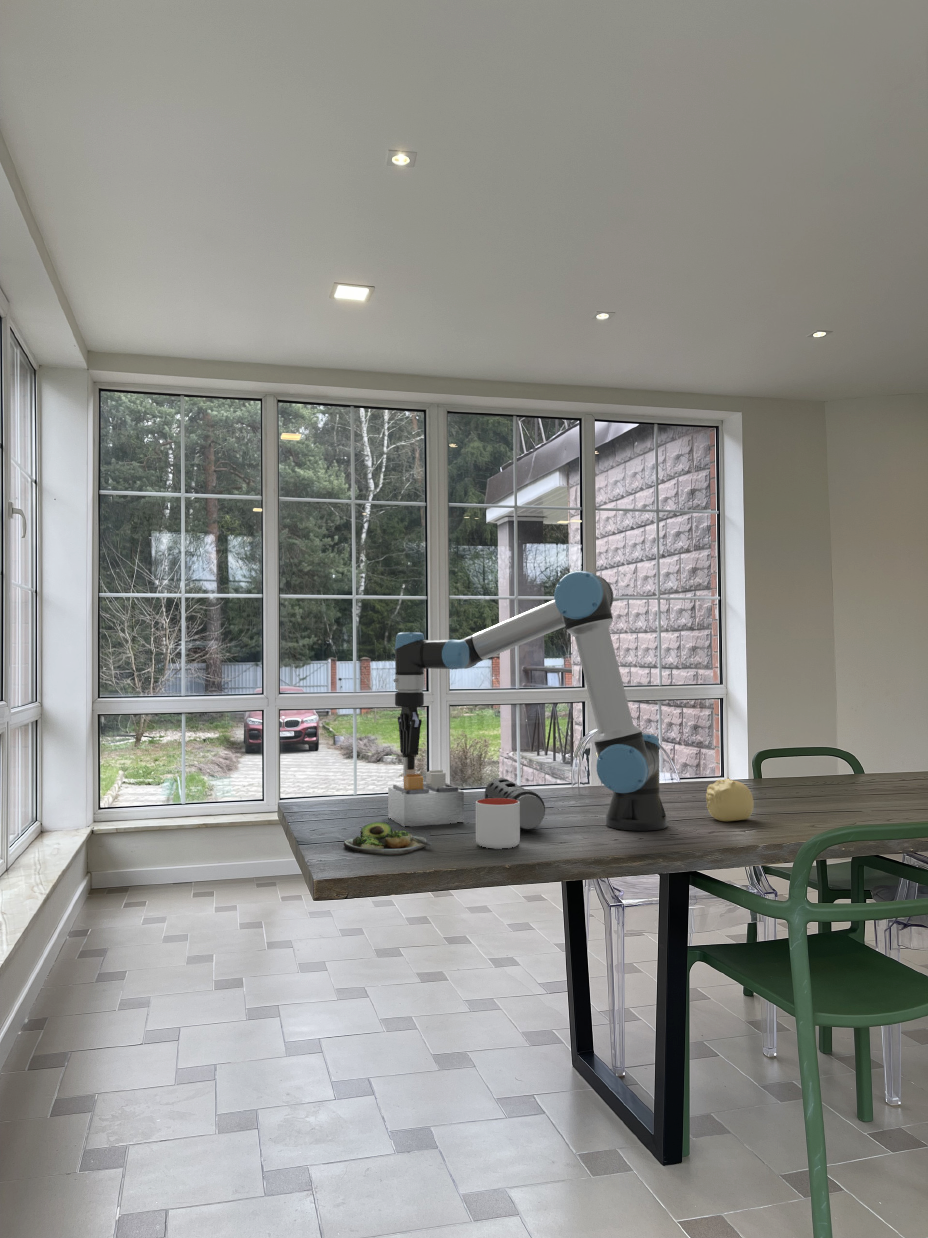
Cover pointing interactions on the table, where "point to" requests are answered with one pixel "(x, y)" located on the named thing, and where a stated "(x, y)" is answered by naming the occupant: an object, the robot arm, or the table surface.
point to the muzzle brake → (529, 801)
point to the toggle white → (436, 778)
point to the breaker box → (426, 805)
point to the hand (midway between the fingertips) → (409, 781)
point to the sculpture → (729, 800)
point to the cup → (497, 823)
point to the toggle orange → (413, 781)
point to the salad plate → (384, 840)
